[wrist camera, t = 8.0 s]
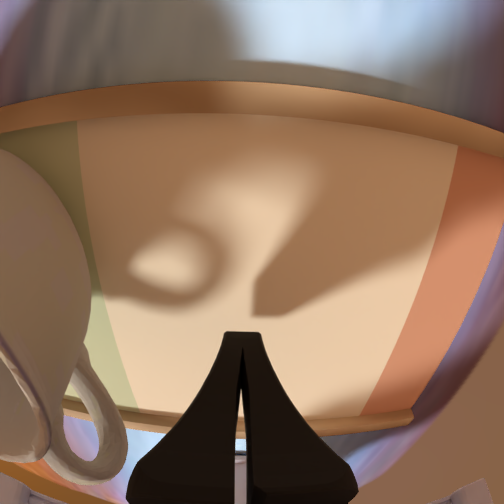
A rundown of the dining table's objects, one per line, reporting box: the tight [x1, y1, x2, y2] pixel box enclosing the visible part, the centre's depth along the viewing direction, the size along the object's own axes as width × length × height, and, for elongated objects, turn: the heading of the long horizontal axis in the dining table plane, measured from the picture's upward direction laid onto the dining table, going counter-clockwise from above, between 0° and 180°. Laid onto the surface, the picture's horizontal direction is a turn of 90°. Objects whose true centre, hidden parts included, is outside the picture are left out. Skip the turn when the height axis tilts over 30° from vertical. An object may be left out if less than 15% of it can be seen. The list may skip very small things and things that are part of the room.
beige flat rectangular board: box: [0, 81, 504, 439], centre depth 13 cm, size 19×33×1 cm, turn 87°
